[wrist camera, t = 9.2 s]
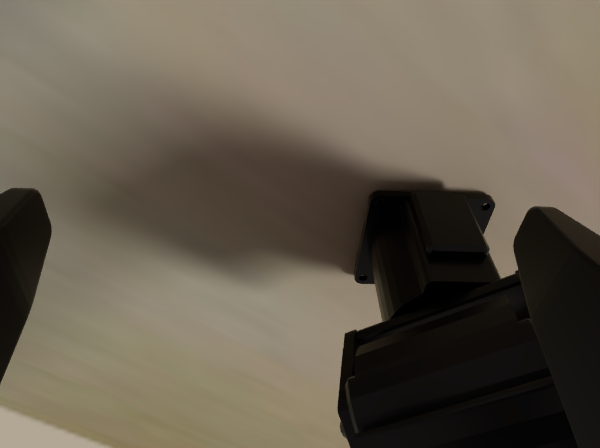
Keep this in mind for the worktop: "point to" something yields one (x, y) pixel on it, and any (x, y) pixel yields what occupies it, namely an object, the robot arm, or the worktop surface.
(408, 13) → the worktop surface
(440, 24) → the worktop surface
